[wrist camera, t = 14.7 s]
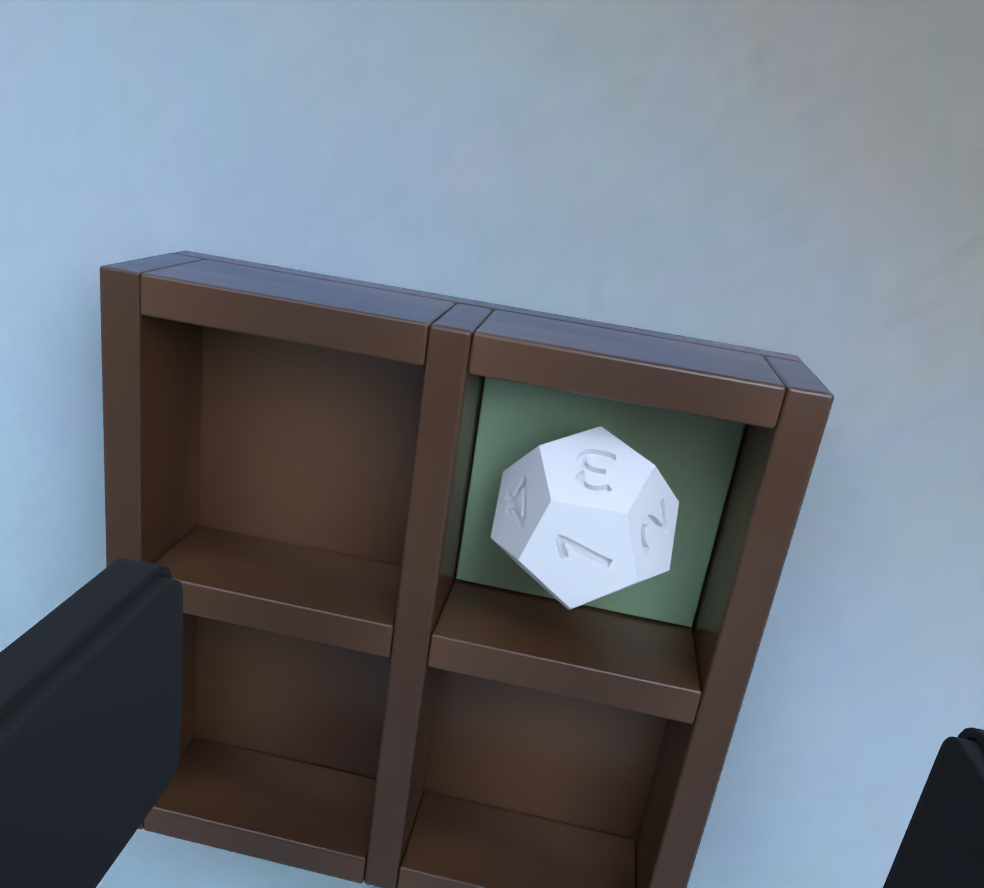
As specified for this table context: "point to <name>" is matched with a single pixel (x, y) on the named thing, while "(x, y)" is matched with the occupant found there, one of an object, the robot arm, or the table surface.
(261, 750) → the grid
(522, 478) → the game die
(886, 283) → the table surface
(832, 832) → the table surface
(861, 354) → the table surface
